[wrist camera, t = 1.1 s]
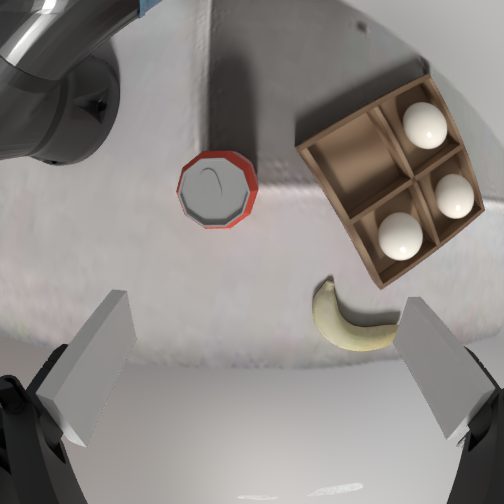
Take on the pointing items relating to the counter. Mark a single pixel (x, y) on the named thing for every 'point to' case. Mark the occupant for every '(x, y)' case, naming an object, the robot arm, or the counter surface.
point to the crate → (389, 175)
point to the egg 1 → (400, 236)
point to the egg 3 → (454, 196)
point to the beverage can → (218, 188)
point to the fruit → (347, 325)
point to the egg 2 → (424, 125)
